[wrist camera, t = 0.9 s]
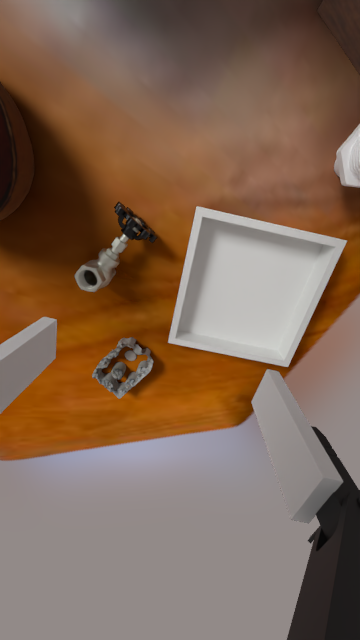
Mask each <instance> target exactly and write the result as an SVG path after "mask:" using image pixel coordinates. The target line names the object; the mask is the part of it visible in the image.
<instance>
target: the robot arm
mask: <svg viewBox="0 0 360 640" xmlns="http://www.w3.org/2000/svg"><path fill="white" fill-rule="evenodd" d="M56 332H57V320H56V319H52V318H48V317H43V318H41V319H40V320H38V321H36V322H35V323H33V324H32V325H30V326H29V327H27V328H25V329H24V330H22V331H21V332H19V333H18V334H16V335H15V336H13V337H11V338H10V339H8V340H7V341H5V342H4V343H2V344H1V345H0V413H1V412H2V411H3V410H4V409H5V408H6V407H7V406H8V405H9V404H10V403H11V402H12V401H13V400H14V399H15V398H16V397H17V396H18V395H19V394H20V393H21V392H22V391H23V390H24V389H25V388H26V387H27V386H28V385H29V384H30V383H31V382H32V381H33V380H34V379H35V378H36V377H37V376H38V375H39V374H40V373H41V372H42V371H43V370H44V369H45V368H46V367H47V366H48V365H49V364H50V363H51V362H52V361H53V360H54V359H55V358H56ZM251 403H252V406H253V409H254V412H255V414H256V417H257V420H258V423H259V426H260V429H261V432H262V435H263V438H264V441H265V444H266V447H267V450H268V453H269V456H270V459H271V462H272V464H273V468H274V471H275V474H276V476H277V480H278V483H279V485H280V489H281V492H282V495H283V498H284V501H285V503H286V506H287V509H288V512H289V515H290V518H291V520H294V521H299V522H304V523H309V522H310V521H311V520H312V519H313V518H314V517H315V515H316V516H317V518H318V520H319V523H320V526H319V528H318V529H317V530H316V531H315V532H314V533H313V534H312V536H311V537H310V538H309V540H308V541H309V542H310V543H311V542H312V541H313V540H314V542H313V546H312V549H311V553H310V557H309V560H308V564H307V568H306V571H305V575H304V579H303V582H302V586H301V590H300V594H299V597H298V601H297V605H296V608H295V612H294V615H293V619H292V623H291V627H290V630H289V634H288V638H287V640H360V490H358V488H357V486H356V485H355V483H354V482H353V480H352V478H351V477H350V475H349V473H348V472H347V470H346V469H345V467H344V466H343V464H342V462H341V461H340V459H339V458H338V457H337V454H336V453H335V451H334V450H333V449H332V446H331V445H330V443H329V442H328V440H327V439H326V437H325V436H324V435H323V434H322V433H321V432H320V431H319V430H318V429H317V428H316V427H312V426H310V424H309V422H308V421H307V419H306V417H305V416H304V414H303V412H302V410H301V409H300V407H299V405H298V404H297V402H296V400H295V398H294V397H293V395H292V393H291V392H290V390H289V388H288V387H287V385H286V383H285V381H284V380H283V378H282V376H281V375H280V373H279V372H278V371H274V370H269V369H267V370H266V372H265V375H264V377H263V379H262V381H261V383H260V385H259V387H258V389H257V391H256V393H255V396H254V398H253V400H252V402H251Z"/></svg>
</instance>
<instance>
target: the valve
mask: <svg viewBox="0 0 360 640" xmlns="http://www.w3.org/2000/svg"><path fill="white" fill-rule="evenodd" d="M114 208H115V209H116V210H115V213H116V214H117V215H118V216H119V217H118V223H119V225H120V227H121V228H122V229H121V231H122V232H123V235H122V236H121V237H116V239H115V240H114V241H113V243H112V244H111V245H112V246H113V247H112V248H108V249H105V248H103V249H102V250H101V251H100V252H99V254H98V255H99V258H98V259H97V260H91V261H89V262H87V263H86V264H84V265H82V266H81V267H80V268H79V270H78V271H77V272H76V274H75V279H76V282H77V284H78V285H79V287H80V289H82V290H86V291H90V292H96V291H97V290H98V289H100V288H104V287H106V286H107V285H108V284H109V283H110V281H111V279H112V278H113V277H114V275H115V274H116V271H115V268H116V267H117V266H118V264H119V263H120V260H119V258H118V257H119V252H120V253H121V252H123V251H124V250H125V248H126V247H127V246H128V245H127V243H126V242H127V241H128V239H131V240H133V239H135V240H142V239H143V238H144V239H145V240H146V239H147V238H148V237H149V238H150V239H149V241H150V242H152V243H153V242H154V241H155V240H156V239H157V236H156V235H155V234H154V233H155V232H154V231H153V230H152V229H151V228H148V227H147V226H146V225H145V222H144V221H143V220H142V219H141V218H138V217H137V216H135V215H134V214H133V211H132V210H131V209H130V208H128V207H127V208H125V206H124V205H123V204H122V203H120V202H118V203H117V204H116V206H115V207H114ZM124 218H126V219H127V221H126V224H124V223H122V221H123V219H124ZM139 231H140V232H141V233H140V234H139V235H138V236H137V234H138V233H139Z"/></svg>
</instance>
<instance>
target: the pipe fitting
mask: <svg viewBox="0 0 360 640" xmlns="http://www.w3.org/2000/svg"><path fill="white" fill-rule="evenodd" d="M336 155H337V159H336V161H335V164H334V171H335V173H336V175H337V176H339V177H340V180H341V184H342V185H343V186H349V187H358V188H360V124H359V125H358V126H357V128H356V129H355V130H354V131H353V132H352V134H351V135H350V136H349V137H348V138H347V140H346V141H345V142H344V143H343V144H342V146H341V147H340V148H339V149H338V151H337V153H336Z"/></svg>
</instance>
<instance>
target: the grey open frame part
mask: <svg viewBox="0 0 360 640" xmlns="http://www.w3.org/2000/svg"><path fill="white" fill-rule="evenodd" d="M135 342H136V339H134V338H133V337H131V338H122V339H121V340H120V341H119V342H118V345H117V348H116V349H115V350H112V351H111V352H110V353H109V354H108V355H107V356H106V357H104V358H103V359H102V360H101V361H100V363H99V364H98V366H97V367H96V369H95V370H94V373H93V375H92V377H93V378H96V379H98V381H99V383H100V384H102V385H104V386H105V388H107V389H108V390H109V391H110V392H113V393H114V394H115V395H116V396H117V397H118V398H119V399H120V398H121V397H122V396H123V395H125V394H126V393H127V392H128V391H129V390H130V389H131V388H132V387H134V386H135V385H136V384H137V383H138V382H139V381H140V380H141V379H142V378H144V377H145V376H146V375H147V374H148V373H149V372H150V371H151V369H152V365H153V362H154V361H153V360H152V358H151V356H150V352H151V351H150V350H149V349H148V348H145V349H141V348H140V347H139V346H138V345H137V344H135ZM125 346H128V347H130V348H133V351H131V350H129V351H127V352H126V353H125V358H126V359H127V360H129V361H133V360H135V359H136V357H137V355H136V354H138V355H143V354H146V355H147V356H148V359H147V361H142V362H140V364H139V366H138V369H137V371H136V372H131V373H130V374H129V376H128V378H127V381H126V382H123V383H118V382H117V380H116V379H118V380H119V379H122V377H123V375H124V373H125V371H126V365H125V364H124V363H123V362H117V363H116V364H115V365H114V367H113V369H112V371H111V373H107V374H104V373H103V372H102V369H103V368H107V367H108V365H109V363H110V361H111V359H112V358H113V357H116V356H118V355H119V352H120V350H121V349H122V348H124V347H125Z"/></svg>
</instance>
